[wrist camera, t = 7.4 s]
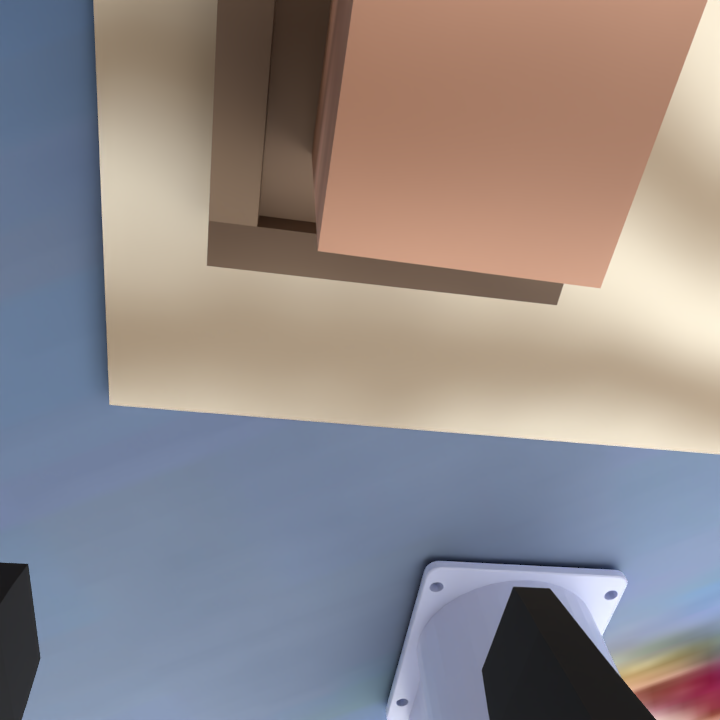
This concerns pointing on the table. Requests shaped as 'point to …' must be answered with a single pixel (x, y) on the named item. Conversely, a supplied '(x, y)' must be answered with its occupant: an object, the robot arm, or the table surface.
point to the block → (492, 129)
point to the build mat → (376, 276)
